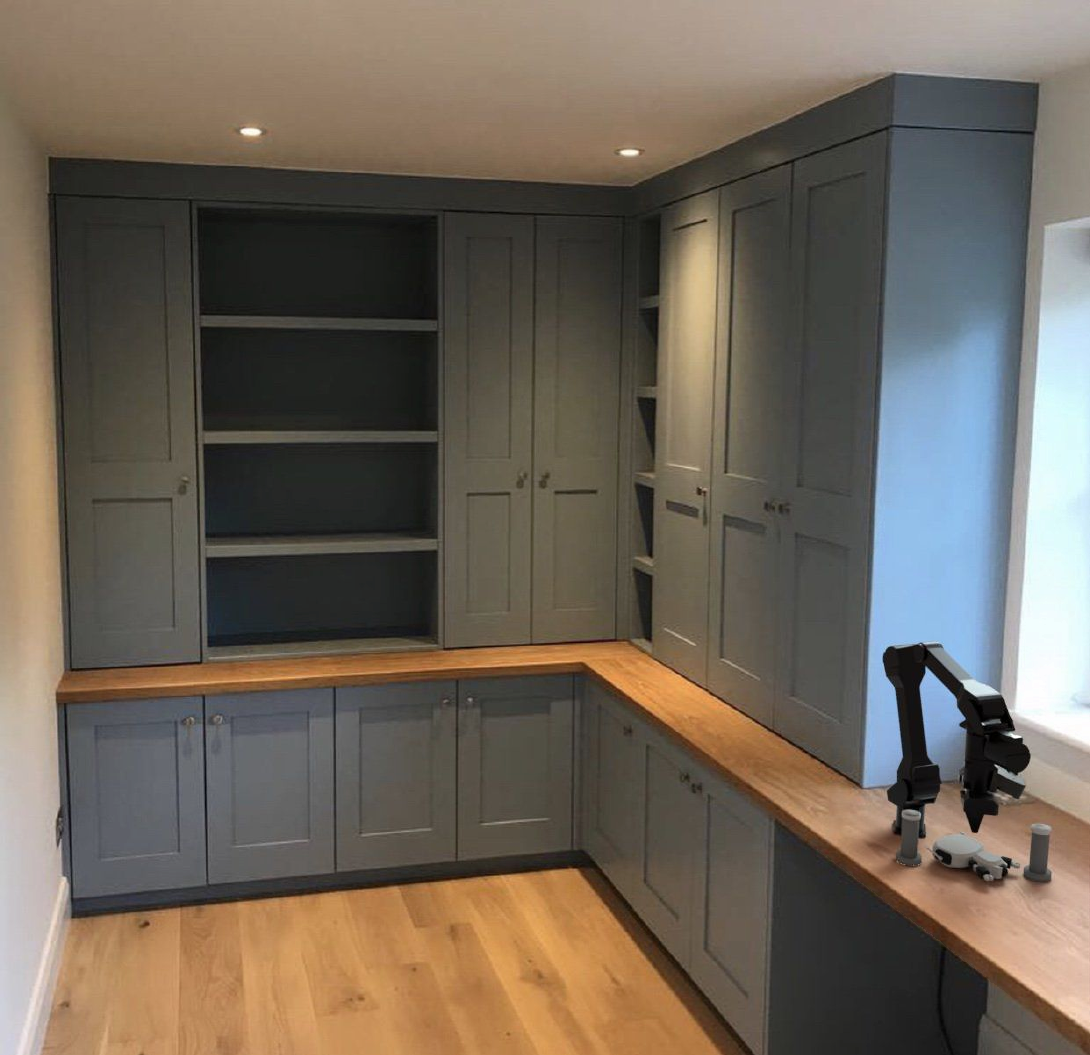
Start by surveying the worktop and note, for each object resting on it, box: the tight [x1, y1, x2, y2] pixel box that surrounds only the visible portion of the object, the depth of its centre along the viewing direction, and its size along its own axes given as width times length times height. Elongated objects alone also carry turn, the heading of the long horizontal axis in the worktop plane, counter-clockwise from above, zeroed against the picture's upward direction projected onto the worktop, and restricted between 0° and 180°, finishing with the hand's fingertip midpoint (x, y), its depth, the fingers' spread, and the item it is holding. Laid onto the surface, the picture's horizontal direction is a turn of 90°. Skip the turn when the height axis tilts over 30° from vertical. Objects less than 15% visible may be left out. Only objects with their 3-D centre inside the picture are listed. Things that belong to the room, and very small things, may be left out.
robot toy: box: [924, 831, 1021, 882], centre depth 242 cm, size 12×4×15 cm
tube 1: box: [894, 810, 923, 867], centre depth 245 cm, size 5×5×10 cm
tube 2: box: [1023, 823, 1052, 883], centre depth 239 cm, size 5×5×10 cm
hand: (974, 832), depth 241 cm, fingers closed
